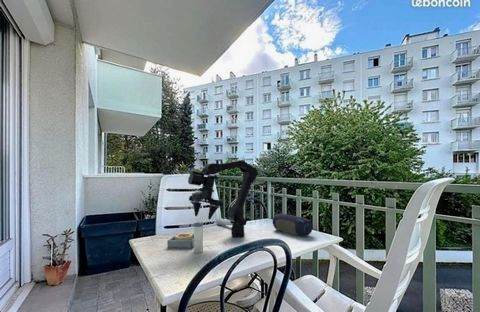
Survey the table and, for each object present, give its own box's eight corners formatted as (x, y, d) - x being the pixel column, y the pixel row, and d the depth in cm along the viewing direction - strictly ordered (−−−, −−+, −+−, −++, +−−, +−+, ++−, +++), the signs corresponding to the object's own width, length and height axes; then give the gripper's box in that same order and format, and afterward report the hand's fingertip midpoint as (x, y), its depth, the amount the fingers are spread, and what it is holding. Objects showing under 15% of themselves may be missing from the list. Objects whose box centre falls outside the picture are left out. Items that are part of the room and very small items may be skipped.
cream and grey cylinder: (204, 250, 118) (204, 222, 118) (201, 253, 114) (201, 224, 114) (195, 249, 118) (195, 222, 119) (192, 252, 114) (192, 224, 115)
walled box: (199, 241, 132) (199, 232, 132) (192, 248, 120) (192, 238, 120) (176, 241, 133) (176, 232, 134) (167, 248, 121) (167, 238, 122)
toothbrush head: (221, 218, 175) (244, 218, 155) (222, 228, 174) (245, 229, 154) (215, 219, 172) (237, 219, 152) (215, 229, 171) (238, 230, 151)
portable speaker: (269, 230, 154) (269, 213, 154) (281, 228, 160) (281, 211, 160) (302, 239, 134) (302, 219, 134) (314, 236, 139) (314, 217, 140)
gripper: (183, 183, 133) (178, 214, 131) (211, 187, 122) (205, 220, 120) (198, 186, 142) (193, 214, 139) (225, 189, 131) (220, 221, 129)
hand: (202, 217), depth 132 cm, fingers open, 9 cm apart
